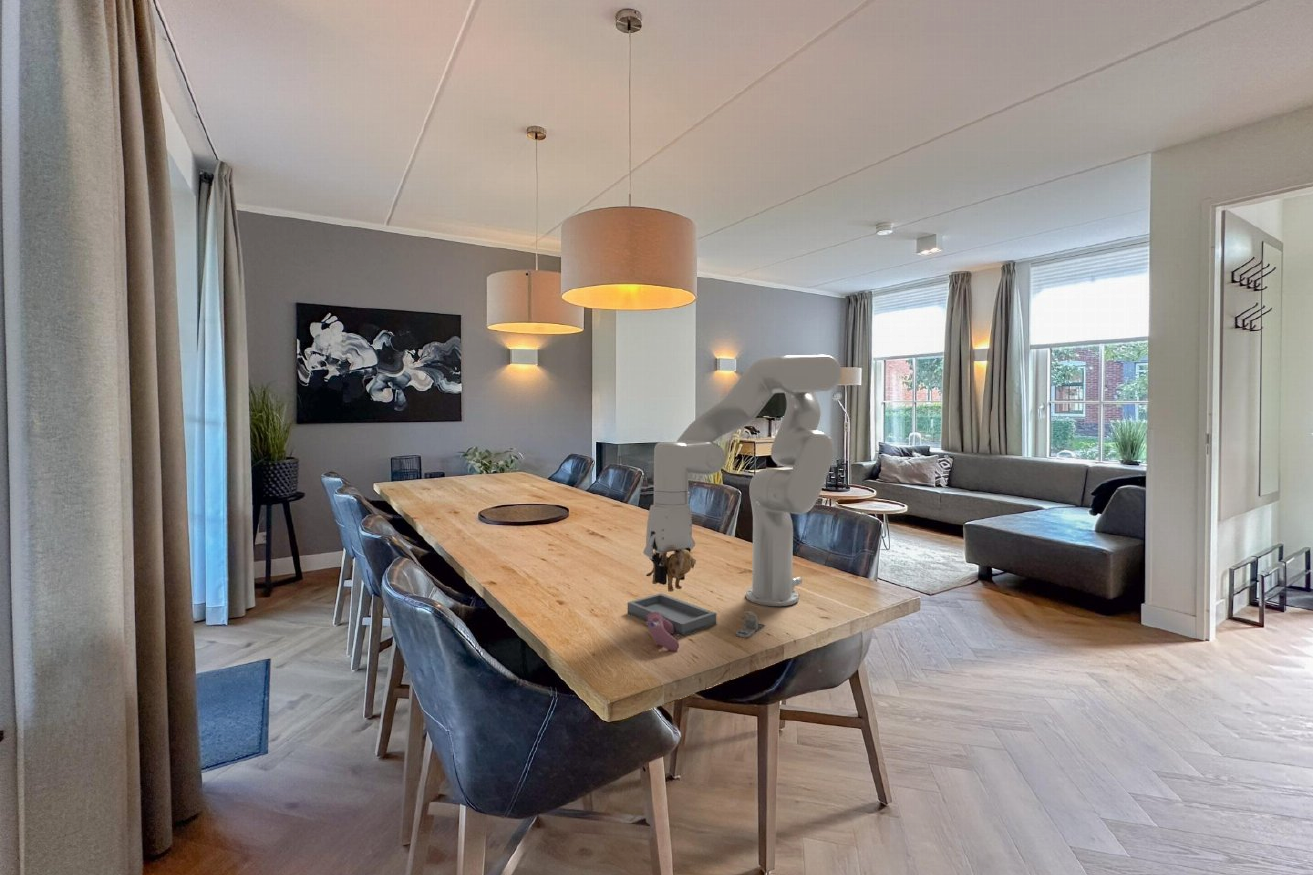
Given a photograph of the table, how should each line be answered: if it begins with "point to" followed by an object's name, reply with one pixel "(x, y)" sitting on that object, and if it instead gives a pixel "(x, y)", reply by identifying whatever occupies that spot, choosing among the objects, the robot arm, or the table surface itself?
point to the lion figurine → (676, 567)
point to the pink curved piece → (662, 631)
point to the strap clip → (749, 626)
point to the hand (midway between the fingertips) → (669, 580)
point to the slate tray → (673, 613)
